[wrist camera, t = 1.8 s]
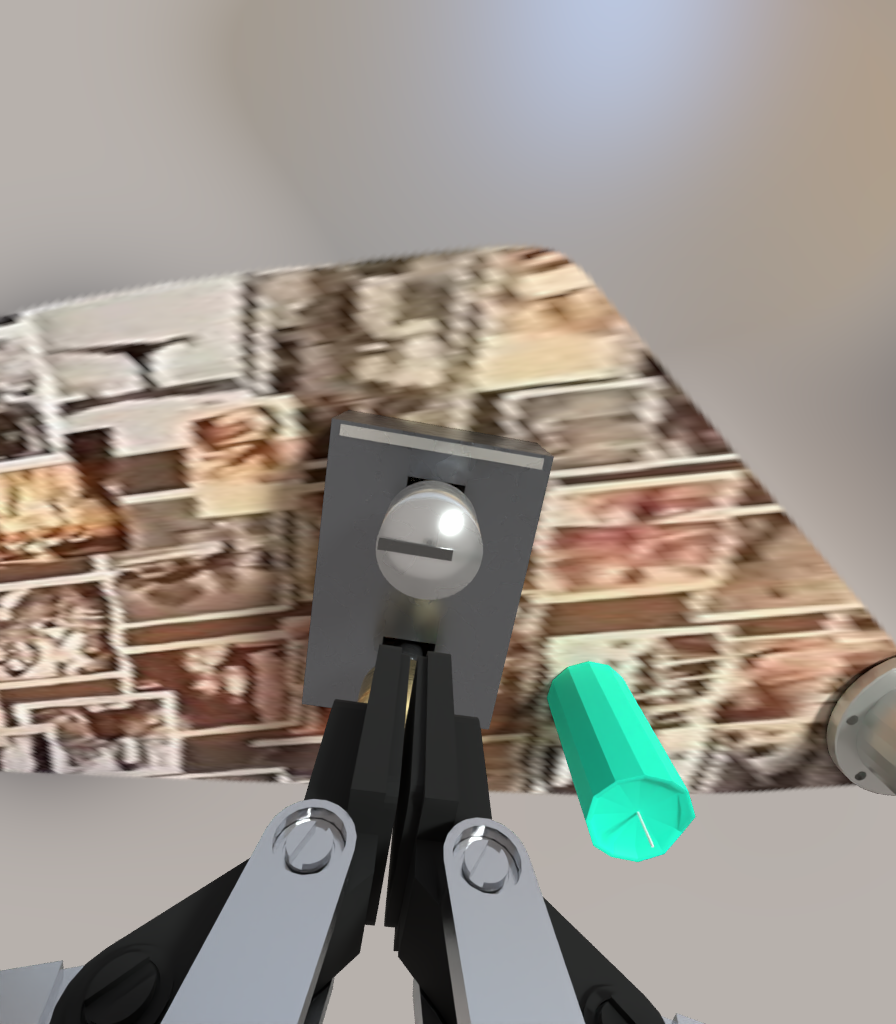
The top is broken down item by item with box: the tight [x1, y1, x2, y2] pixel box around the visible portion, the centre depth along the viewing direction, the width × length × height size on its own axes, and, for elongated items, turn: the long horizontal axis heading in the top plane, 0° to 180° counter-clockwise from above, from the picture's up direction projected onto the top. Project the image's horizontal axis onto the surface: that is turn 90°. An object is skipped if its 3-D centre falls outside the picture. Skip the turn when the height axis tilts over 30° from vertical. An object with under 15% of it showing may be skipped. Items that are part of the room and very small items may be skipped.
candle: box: [547, 661, 695, 862], centre depth 31 cm, size 6×6×12 cm
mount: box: [302, 410, 554, 729], centre depth 31 cm, size 12×18×5 cm, turn 170°
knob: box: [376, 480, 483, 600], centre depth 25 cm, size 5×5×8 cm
